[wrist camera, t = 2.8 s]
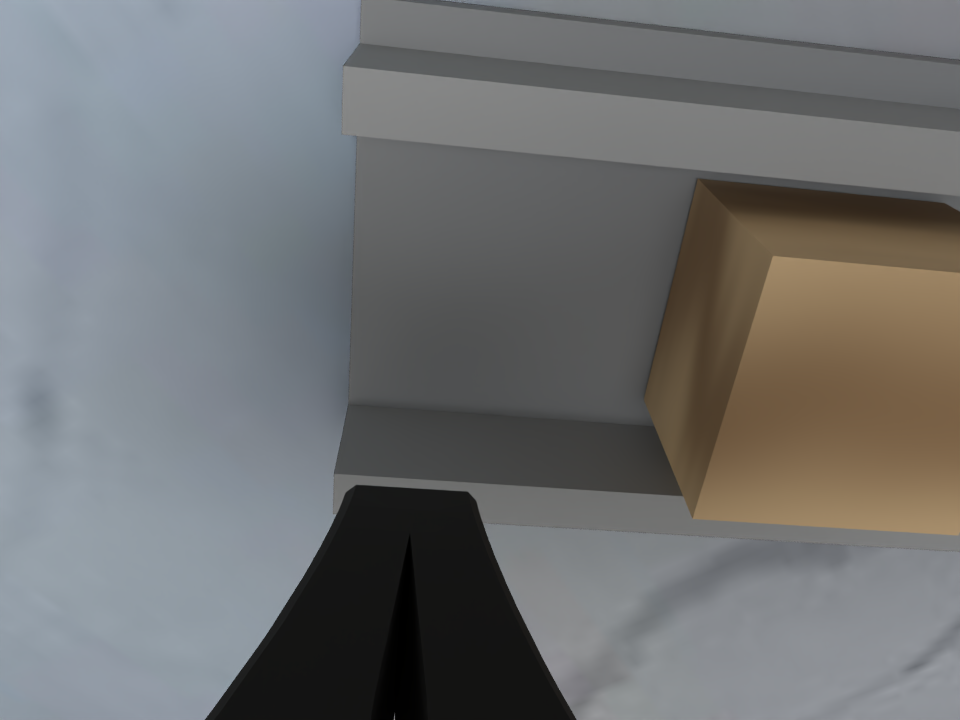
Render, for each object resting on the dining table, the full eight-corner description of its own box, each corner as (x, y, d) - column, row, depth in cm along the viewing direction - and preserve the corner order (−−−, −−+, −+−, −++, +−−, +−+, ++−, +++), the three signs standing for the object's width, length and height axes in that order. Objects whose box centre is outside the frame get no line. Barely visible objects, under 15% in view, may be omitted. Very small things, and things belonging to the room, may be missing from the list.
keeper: (697, 178, 15) (773, 255, 12) (944, 203, 15) (1089, 284, 12) (643, 399, 17) (692, 518, 14) (858, 415, 18) (957, 535, 14)
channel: (366, -8, 14) (340, 14, 11) (1533, 126, 16) (1831, 181, 13) (351, 443, 19) (329, 559, 16) (1253, 504, 21) (1414, 620, 18)
